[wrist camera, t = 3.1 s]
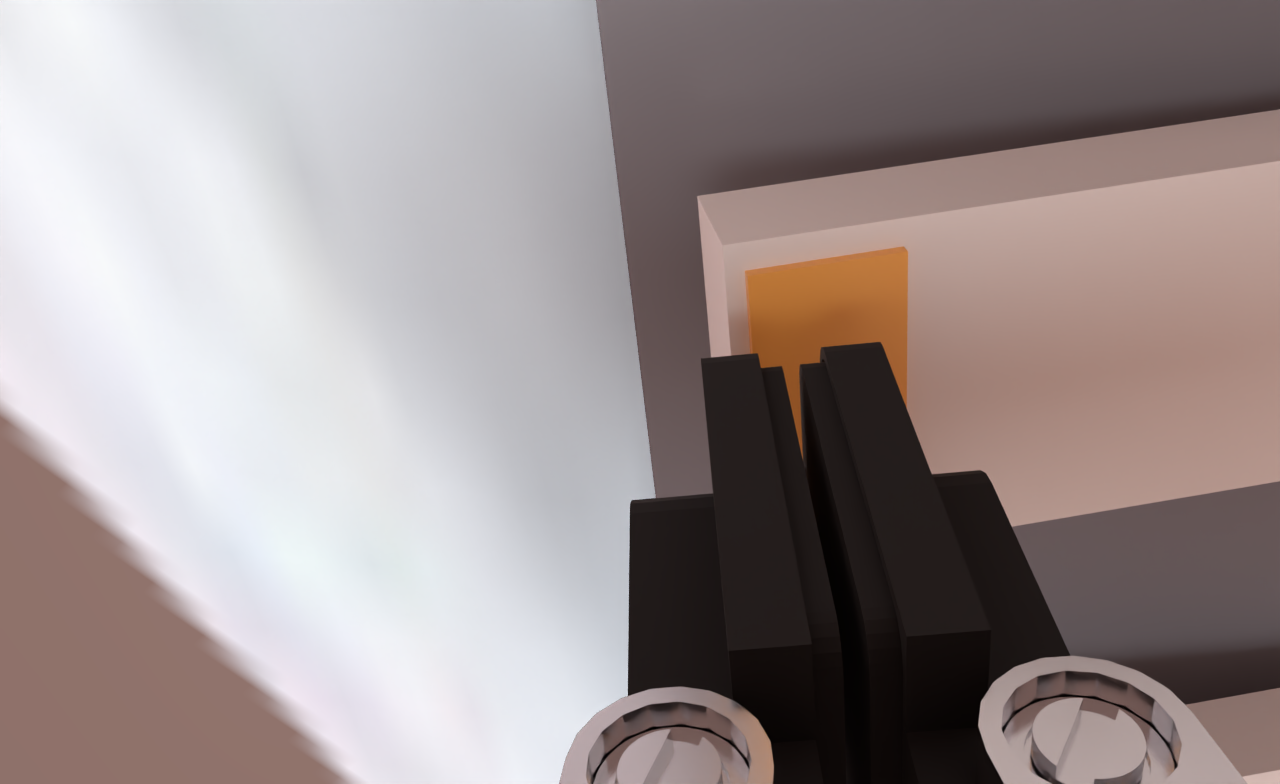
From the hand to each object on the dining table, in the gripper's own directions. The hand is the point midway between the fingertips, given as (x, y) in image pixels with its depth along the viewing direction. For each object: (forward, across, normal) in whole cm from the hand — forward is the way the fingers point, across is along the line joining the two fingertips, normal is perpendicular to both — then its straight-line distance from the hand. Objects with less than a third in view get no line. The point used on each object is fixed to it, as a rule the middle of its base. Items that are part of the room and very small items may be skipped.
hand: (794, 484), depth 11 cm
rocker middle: (+3, -4, 0) cm, 5 cm away
